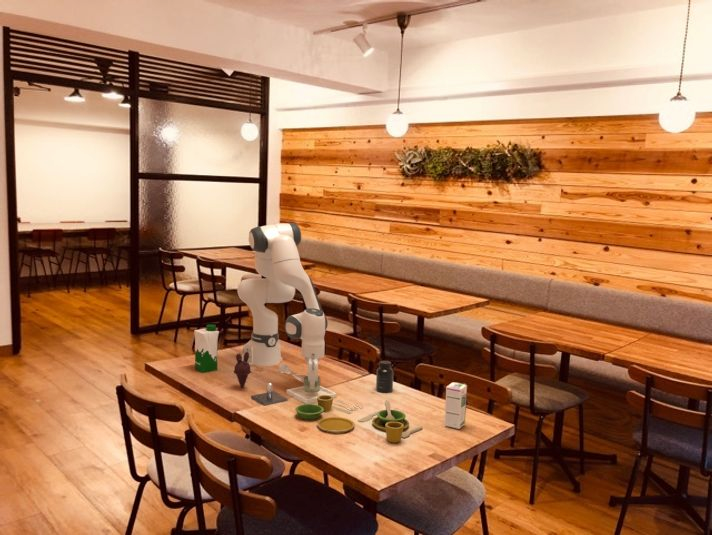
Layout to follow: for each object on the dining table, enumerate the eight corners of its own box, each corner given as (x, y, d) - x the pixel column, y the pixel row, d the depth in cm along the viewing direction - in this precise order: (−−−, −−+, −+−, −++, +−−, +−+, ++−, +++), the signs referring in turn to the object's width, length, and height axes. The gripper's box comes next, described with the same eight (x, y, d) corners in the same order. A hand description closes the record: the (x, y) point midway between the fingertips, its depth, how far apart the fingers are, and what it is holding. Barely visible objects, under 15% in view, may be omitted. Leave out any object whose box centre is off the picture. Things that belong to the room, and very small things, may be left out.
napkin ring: (301, 390, 234) (301, 378, 233) (309, 386, 239) (309, 374, 238) (314, 393, 231) (314, 381, 230) (322, 389, 236) (322, 377, 236)
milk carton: (220, 372, 260) (221, 326, 258) (201, 375, 254) (201, 329, 252) (210, 367, 267) (210, 322, 264) (191, 370, 261) (191, 325, 258)
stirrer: (314, 384, 250) (314, 373, 249) (307, 386, 247) (308, 375, 247) (283, 373, 263) (283, 362, 263) (276, 374, 261) (277, 364, 260)
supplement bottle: (380, 386, 250) (382, 358, 249) (395, 390, 247) (396, 361, 245) (372, 391, 244) (374, 362, 243) (387, 394, 241) (389, 365, 239)
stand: (251, 398, 230) (251, 381, 229) (273, 393, 236) (274, 377, 235) (264, 406, 222) (264, 389, 221) (287, 401, 228) (288, 384, 228)
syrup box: (459, 429, 208) (462, 388, 206) (443, 425, 211) (446, 385, 209) (465, 424, 213) (467, 384, 211) (449, 420, 216) (451, 381, 214)
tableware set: (428, 429, 208) (429, 412, 207) (379, 454, 187) (380, 435, 186) (337, 400, 234) (338, 384, 233) (286, 418, 212) (287, 401, 212)
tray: (286, 394, 236) (286, 389, 236) (315, 388, 245) (316, 383, 245) (306, 404, 225) (306, 400, 225) (336, 398, 234) (336, 393, 234)
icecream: (239, 393, 234) (240, 356, 233) (229, 388, 240) (230, 351, 238) (254, 389, 239) (255, 353, 237) (244, 385, 245) (244, 349, 243)
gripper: (322, 358, 223) (320, 394, 225) (320, 344, 243) (319, 377, 245) (305, 358, 222) (303, 394, 224) (304, 344, 243) (303, 377, 244)
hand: (311, 385), depth 235 cm, fingers closed on napkin ring, 6 cm apart
